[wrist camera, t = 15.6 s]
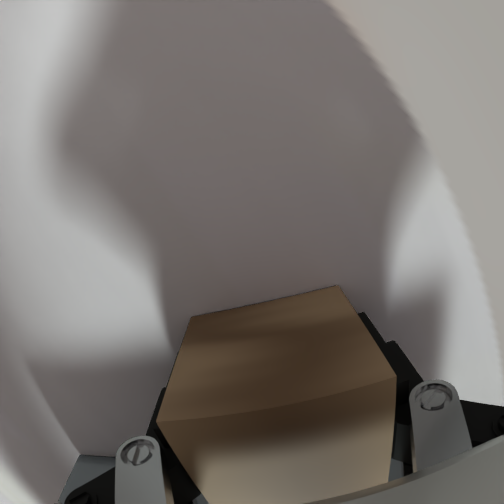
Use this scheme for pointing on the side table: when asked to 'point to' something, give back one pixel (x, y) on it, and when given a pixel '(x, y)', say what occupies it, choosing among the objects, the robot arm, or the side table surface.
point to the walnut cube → (281, 402)
